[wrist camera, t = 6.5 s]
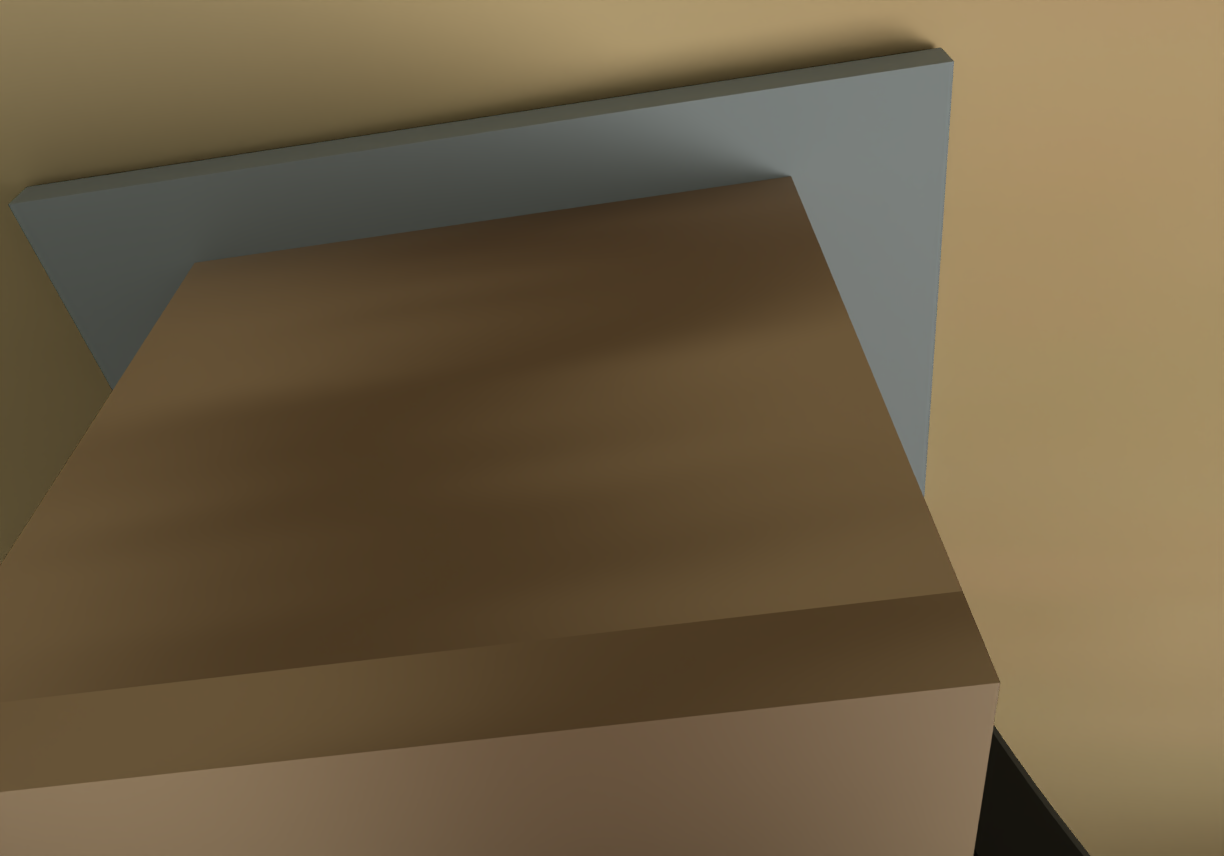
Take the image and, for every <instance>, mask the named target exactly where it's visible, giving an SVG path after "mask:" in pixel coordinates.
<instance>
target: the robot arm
mask: <svg viewBox="0 0 1224 856" xmlns="http://www.w3.org/2000/svg"><path fill="white" fill-rule="evenodd" d="M973 856H1090V855H1089V853H1088V852H1087V851H1086V850H1085V848H1084V847H1083V846H1082V845H1081V843H1080V842H1079V841H1078V839H1077V838H1076V837H1075V836H1074V834H1073V833H1072V832H1071V830H1070V829H1069V828H1068V827H1067V825H1066V824H1065V823H1064V822H1063V820H1062V819H1061V818H1060V816H1059V815H1058V814H1057V813H1056V811H1055V810H1054V809H1053V807H1052V806H1051V805H1050V803H1049V802H1048V801H1047V799H1046V798H1045V797H1044V795H1043V794H1042V793H1041V791H1040V790H1039V788H1038V787H1037V786H1036V784H1035V783H1034V782H1033V780H1032V779H1031V777H1030V776H1029V775H1028V773H1027V772H1026V770H1025V769H1024V768H1023V766H1022V765H1021V763H1020V762H1019V761H1018V759H1017V758H1016V756H1015V755H1014V754H1013V752H1012V751H1011V749H1010V748H1009V746H1008V745H1007V743H1006V742H1005V741H1004V739H1003V738H1002V736H1001V735H1000V733H999V732H998V730H997V729H996V727H995V726H993V733H992V739H991V745H990V752H989V758H988V765H987V771H986V777H985V784H984V790H983V797H982V803H981V809H980V816H979V822H978V829H977V835H976V841H975V848H974V854H973Z"/></svg>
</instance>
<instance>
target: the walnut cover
mask: <svg viewBox="0 0 1224 856" xmlns="http://www.w3.org/2000/svg"><path fill="white" fill-rule="evenodd" d="M999 688H1000V681H999V678H998V676H997V673H996V671H995V669H994V666H993V664H992V661H991V659H990V657H989V654H988V652H987V649H986V647H985V644H984V642H983V640H982V637H981V635H980V632H979V630H978V627H977V625H976V623H975V620H974V618H973V615H972V613H971V611H970V608H969V606H968V603H967V601H966V598H965V596H964V594H963V591H962V589H961V586H960V584H959V581H958V579H957V577H956V574H955V572H954V569H953V567H952V565H951V562H950V560H949V557H948V555H947V552H946V550H945V548H944V545H943V543H942V540H941V538H940V535H939V533H938V531H937V528H936V526H935V523H934V521H933V519H932V516H931V514H930V511H929V509H928V506H927V504H926V502H925V499H924V497H923V494H922V492H921V489H920V487H919V485H918V482H917V480H916V477H915V475H914V473H913V470H912V468H911V465H910V463H909V460H908V458H907V456H906V453H905V451H904V448H903V446H902V443H901V441H900V439H899V436H898V434H897V431H896V429H895V426H894V424H893V422H892V419H891V417H890V414H889V412H888V410H887V407H886V405H885V402H884V400H883V397H882V395H881V393H880V390H879V388H878V385H877V383H876V380H875V378H874V376H873V373H872V371H871V368H870V366H869V364H868V361H867V359H866V356H865V354H864V351H863V349H862V347H861V344H860V342H859V339H858V337H857V334H856V332H855V330H854V327H853V325H852V322H851V320H850V318H849V315H848V313H847V310H846V308H845V305H844V303H843V301H842V298H841V296H840V293H839V291H838V288H837V286H836V284H835V281H834V279H833V276H832V274H831V272H830V269H829V267H828V264H827V262H826V259H825V257H824V255H823V252H822V250H821V247H820V245H819V242H818V240H817V238H816V235H815V233H814V230H813V228H812V226H811V223H810V221H809V218H808V216H807V213H806V211H805V209H804V206H803V204H802V201H801V199H800V196H799V194H798V192H797V189H796V187H795V184H794V182H793V180H792V177H791V176H789V177H782V178H775V179H768V180H761V181H754V182H748V183H741V184H734V185H727V186H720V187H713V188H706V189H699V190H692V191H686V192H679V193H672V194H665V195H658V196H651V197H644V198H637V199H630V200H624V201H617V202H610V203H603V204H596V205H589V206H582V207H575V208H569V209H562V210H555V211H548V212H541V213H534V214H527V215H520V216H513V217H507V218H500V219H493V220H486V221H479V222H472V223H465V224H458V225H451V226H445V227H438V228H431V229H424V230H417V231H410V232H403V233H396V234H389V235H383V236H376V237H369V238H362V239H355V240H348V241H341V242H334V243H328V244H321V245H314V246H307V247H300V248H293V249H286V250H279V251H272V252H266V253H259V254H252V255H245V256H238V257H231V258H224V259H217V260H210V261H204V262H197V263H194V265H193V266H192V268H191V269H190V271H189V272H188V274H187V275H186V277H185V279H184V280H183V282H182V283H181V285H180V286H179V288H178V289H177V291H176V293H175V294H174V296H173V297H172V299H171V300H170V302H169V303H168V305H167V307H166V308H165V310H164V311H163V313H162V314H161V316H160V317H159V319H158V321H157V322H156V324H155V325H154V327H153V328H152V330H151V331H150V333H149V335H148V336H147V338H146V339H145V341H144V342H143V344H142V346H141V347H140V349H139V350H138V352H137V353H136V355H135V356H134V358H133V360H132V361H131V363H130V364H129V366H128V367H127V369H126V370H125V372H124V374H123V375H122V377H121V378H120V380H119V381H118V383H117V384H116V386H115V388H114V389H113V391H112V392H111V394H110V395H109V397H108V398H107V400H106V402H105V403H104V405H103V406H102V408H101V409H100V411H99V412H98V414H97V416H96V417H95V419H94V420H93V422H92V423H91V425H90V426H89V428H88V430H87V431H86V433H85V434H84V436H83V437H82V439H81V440H80V442H79V444H78V445H77V447H76V448H75V450H74V451H73V453H72V454H71V456H70V458H69V459H68V461H67V462H66V464H65V465H64V467H63V468H62V470H61V472H60V473H59V475H58V476H57V478H56V479H55V481H54V482H53V484H52V486H51V487H50V489H49V490H48V492H47V493H46V495H45V496H44V498H43V500H42V501H41V503H40V504H39V506H38V507H37V509H36V510H35V512H34V514H33V515H32V517H31V518H30V520H29V521H28V523H27V524H26V526H25V528H24V529H23V531H22V532H21V534H20V535H19V537H18V538H17V540H16V542H15V543H14V545H13V546H12V548H11V549H10V551H9V552H8V554H7V556H6V557H5V559H4V560H3V562H2V563H1V565H0V856H973V854H974V848H975V841H976V835H977V829H978V822H979V816H980V809H981V803H982V797H983V790H984V784H985V777H986V771H987V765H988V758H989V752H990V745H991V739H992V733H993V726H994V720H995V713H996V707H997V701H998V694H999Z"/></svg>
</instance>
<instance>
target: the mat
mask: <svg viewBox="0 0 1224 856" xmlns="http://www.w3.org/2000/svg"><path fill="white" fill-rule="evenodd" d="M953 66H954V61H953V60H952V59H951V58H950V57H949V56H948V55H947V53H946V52H945V51H944V50H943V49H942V48H935V49H929V50H922V51H916V52H909V53H902V54H896V55H889V56H883V57H876V58H870V59H863V60H857V61H850V62H843V63H837V64H830V65H824V66H817V67H811V68H804V69H797V70H791V71H784V72H778V73H771V74H765V75H758V76H752V77H745V78H738V79H732V80H725V81H719V82H712V83H706V84H699V85H693V86H686V87H679V88H673V89H666V90H660V91H653V92H647V93H640V94H634V95H627V96H620V97H614V98H607V99H601V100H594V101H588V102H581V103H575V104H568V105H561V106H555V107H548V108H542V109H535V110H529V111H522V112H516V113H509V114H502V115H496V116H489V117H483V118H476V119H470V120H463V121H457V122H450V123H443V124H437V125H430V126H424V127H417V128H411V129H404V130H398V131H391V132H384V133H378V134H371V135H365V136H358V137H352V138H345V139H339V140H332V141H325V142H319V143H312V144H306V145H299V146H293V147H286V148H280V149H273V150H266V151H260V152H253V153H247V154H240V155H234V156H227V157H221V158H214V159H207V160H201V161H194V162H188V163H181V164H175V165H168V166H161V167H155V168H148V169H142V170H135V171H129V172H122V173H116V174H109V175H102V176H96V177H89V178H83V179H76V180H70V181H63V182H57V183H50V184H43V185H37V186H30V187H26V188H25V189H24V190H23V191H22V192H21V193H20V194H19V195H18V196H17V197H15V198H14V199H13V200H12V201H11V202H10V203H9V204H8V205H9V207H10V209H11V211H12V212H13V214H14V216H15V218H16V219H17V221H18V223H19V225H20V227H21V228H22V230H23V232H24V234H25V235H26V237H27V239H28V241H29V243H30V244H31V246H32V248H33V250H34V251H35V253H36V255H37V257H38V259H39V260H40V262H41V264H42V266H43V268H44V269H45V271H46V273H47V275H48V276H49V278H50V280H51V282H52V284H53V285H54V287H55V289H56V291H57V292H58V294H59V296H60V298H61V300H62V301H63V303H64V305H65V307H66V309H67V310H68V312H69V314H70V316H71V317H72V319H73V321H74V323H75V325H76V326H77V328H78V330H79V332H80V333H81V335H82V337H83V339H84V341H85V342H86V344H87V346H88V348H89V349H90V351H91V353H92V355H93V357H94V358H95V360H96V362H97V364H98V366H99V367H100V369H101V371H102V373H103V374H104V376H105V378H106V380H107V382H108V383H109V385H110V387H111V389H112V390H113V389H114V388H115V386H116V384H117V383H118V381H119V380H120V378H121V377H122V375H123V374H124V372H125V370H126V369H127V367H128V366H129V364H130V363H131V361H132V360H133V358H134V356H135V355H136V353H137V352H138V350H139V349H140V347H141V346H142V344H143V342H144V341H145V339H146V338H147V336H148V335H149V333H150V331H151V330H152V328H153V327H154V325H155V324H156V322H157V321H158V319H159V317H160V316H161V314H162V313H163V311H164V310H165V308H166V307H167V305H168V303H169V302H170V300H171V299H172V297H173V296H174V294H175V293H176V291H177V289H178V288H179V286H180V285H181V283H182V282H183V280H184V279H185V277H186V275H187V274H188V272H189V271H190V269H191V268H192V266H193V265H194V263H197V262H204V261H210V260H217V259H224V258H231V257H238V256H245V255H252V254H259V253H266V252H272V251H279V250H286V249H293V248H300V247H307V246H314V245H321V244H328V243H334V242H341V241H348V240H355V239H362V238H369V237H376V236H383V235H389V234H396V233H403V232H410V231H417V230H424V229H431V228H438V227H445V226H451V225H458V224H465V223H472V222H479V221H486V220H493V219H500V218H507V217H513V216H520V215H527V214H534V213H541V212H548V211H555V210H562V209H569V208H575V207H582V206H589V205H596V204H603V203H610V202H617V201H624V200H630V199H637V198H644V197H651V196H658V195H665V194H672V193H679V192H686V191H692V190H699V189H706V188H713V187H720V186H727V185H734V184H741V183H748V182H754V181H761V180H768V179H775V178H782V177H789V176H791V177H792V180H793V182H794V184H795V187H796V189H797V192H798V194H799V196H800V199H801V201H802V204H803V206H804V209H805V211H806V213H807V216H808V218H809V221H810V223H811V226H812V228H813V230H814V233H815V235H816V238H817V240H818V242H819V245H820V247H821V250H822V252H823V255H824V257H825V259H826V262H827V264H828V267H829V269H830V272H831V274H832V276H833V279H834V281H835V284H836V286H837V288H838V291H839V293H840V296H841V298H842V301H843V303H844V305H845V308H846V310H847V313H848V315H849V318H850V320H851V322H852V325H853V327H854V330H855V332H856V334H857V337H858V339H859V342H860V344H861V347H862V349H863V351H864V354H865V356H866V359H867V361H868V364H869V366H870V368H871V371H872V373H873V376H874V378H875V380H876V383H877V385H878V388H879V390H880V393H881V395H882V397H883V400H884V402H885V405H886V407H887V410H888V412H889V414H890V417H891V419H892V422H893V424H894V426H895V429H896V431H897V434H898V436H899V439H900V441H901V443H902V446H903V448H904V451H905V453H906V456H907V458H908V460H909V463H910V465H911V468H912V470H913V473H914V475H915V477H916V480H917V482H918V485H919V487H920V489H921V492H922V494H923V497H924V492H925V477H926V463H927V448H928V433H929V419H930V404H931V389H932V375H933V360H934V345H935V331H936V316H937V301H938V286H939V272H940V257H941V242H942V228H943V213H944V198H945V184H946V169H947V154H948V140H949V125H950V110H951V95H952V81H953Z"/></svg>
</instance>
